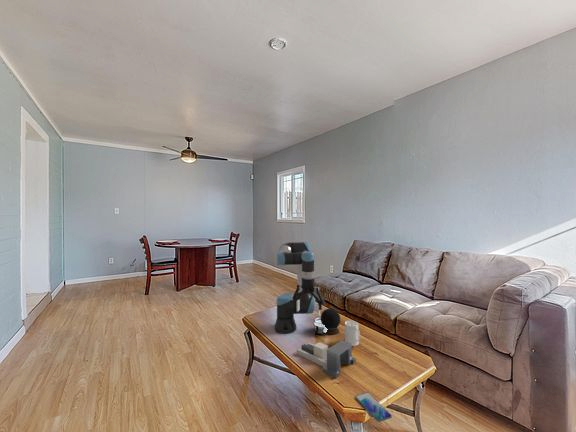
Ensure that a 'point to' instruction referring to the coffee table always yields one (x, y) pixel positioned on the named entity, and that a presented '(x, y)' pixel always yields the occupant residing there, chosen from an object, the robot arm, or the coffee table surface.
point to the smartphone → (373, 407)
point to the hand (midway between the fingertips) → (308, 312)
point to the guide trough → (311, 356)
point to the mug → (352, 333)
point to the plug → (317, 350)
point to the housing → (338, 358)
